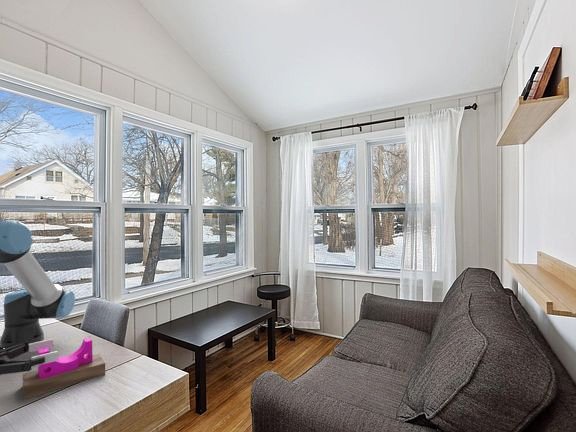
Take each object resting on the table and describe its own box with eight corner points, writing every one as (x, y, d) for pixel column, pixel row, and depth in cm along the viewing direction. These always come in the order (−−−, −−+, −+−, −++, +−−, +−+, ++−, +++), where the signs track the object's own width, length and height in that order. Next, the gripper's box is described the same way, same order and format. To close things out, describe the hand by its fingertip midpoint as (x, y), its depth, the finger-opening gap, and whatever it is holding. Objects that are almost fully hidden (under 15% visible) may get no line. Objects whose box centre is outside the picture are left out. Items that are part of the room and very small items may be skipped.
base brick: (22, 386, 104) (22, 374, 104) (99, 364, 118) (99, 353, 118) (24, 399, 96) (23, 386, 96) (105, 374, 111) (105, 363, 111)
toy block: (39, 379, 100) (39, 355, 100) (38, 372, 105) (37, 349, 105) (94, 363, 110) (93, 342, 110) (90, 357, 115) (90, 337, 115)
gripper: (-32, 368, 100) (51, 348, 114) (-40, 402, 82) (60, 373, 96) (-32, 344, 100) (51, 327, 114) (-41, 373, 82) (59, 349, 96)
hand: (55, 348), depth 105 cm, fingers open, 13 cm apart
